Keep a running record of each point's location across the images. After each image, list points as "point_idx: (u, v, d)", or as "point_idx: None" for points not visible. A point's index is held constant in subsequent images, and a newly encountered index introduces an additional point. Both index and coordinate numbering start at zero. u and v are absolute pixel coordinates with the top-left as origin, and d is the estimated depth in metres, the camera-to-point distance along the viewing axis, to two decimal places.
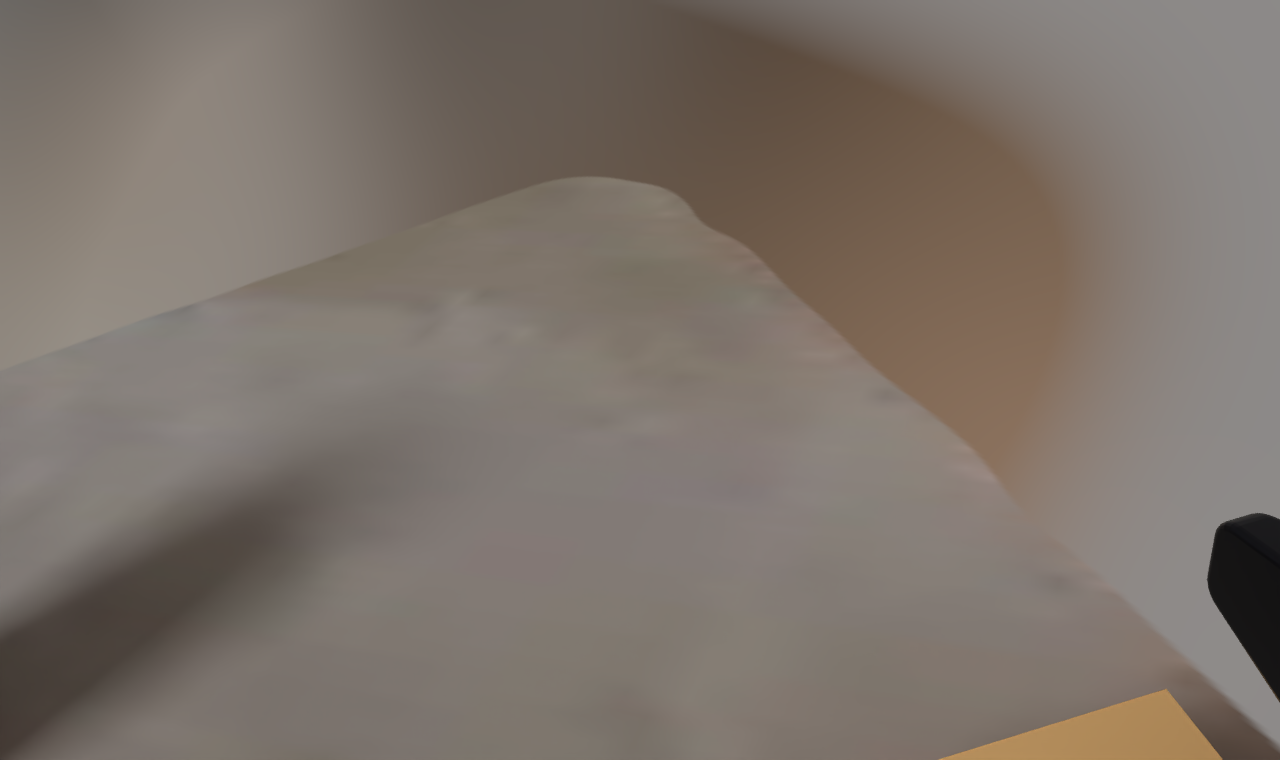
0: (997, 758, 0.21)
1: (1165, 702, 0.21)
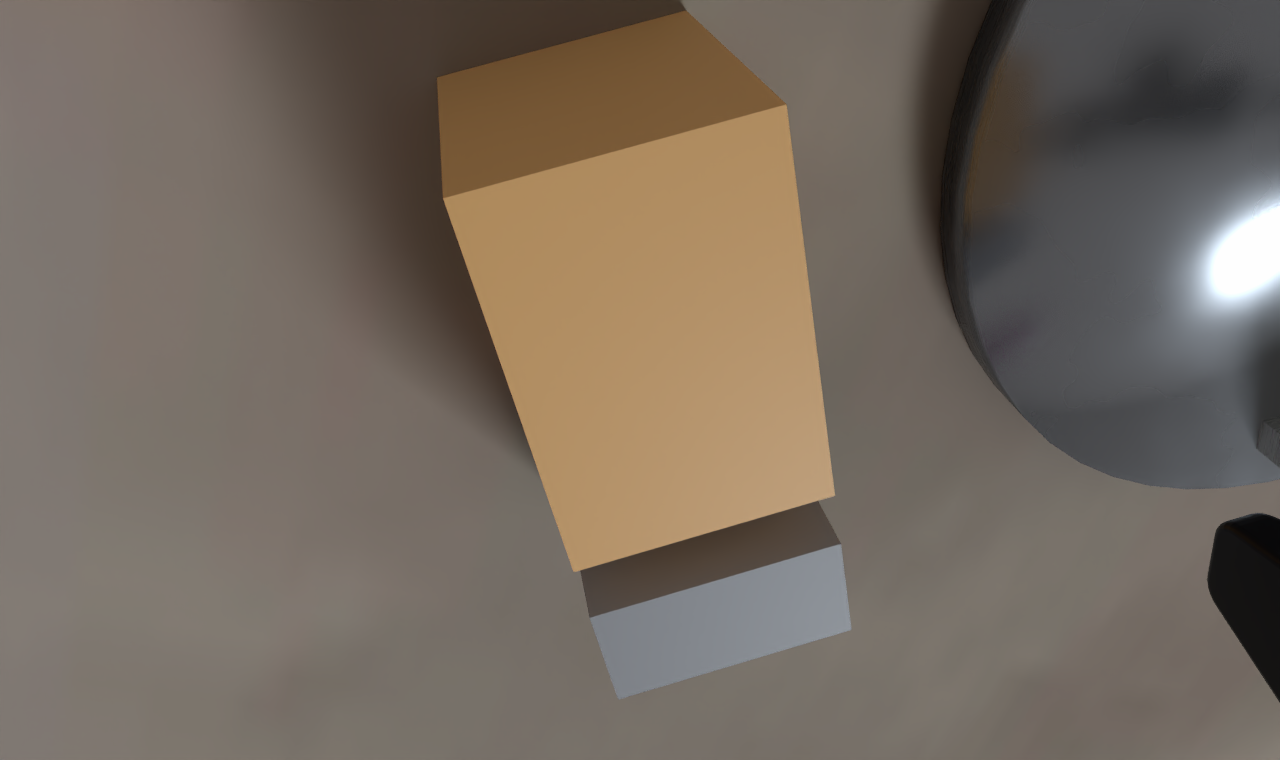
0: (565, 466, 0.13)
1: (475, 210, 0.11)
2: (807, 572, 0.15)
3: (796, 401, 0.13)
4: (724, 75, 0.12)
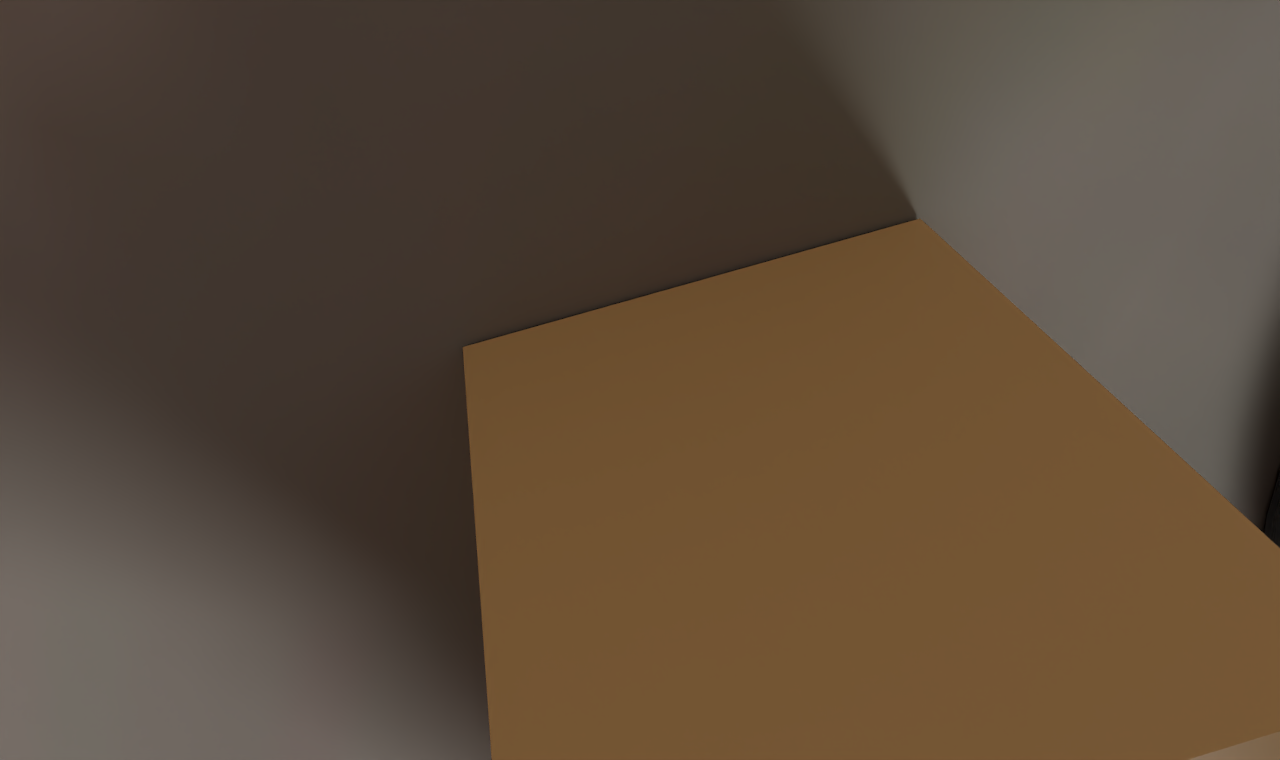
0: None
1: None
2: None
3: None
4: (1138, 486, 0.05)
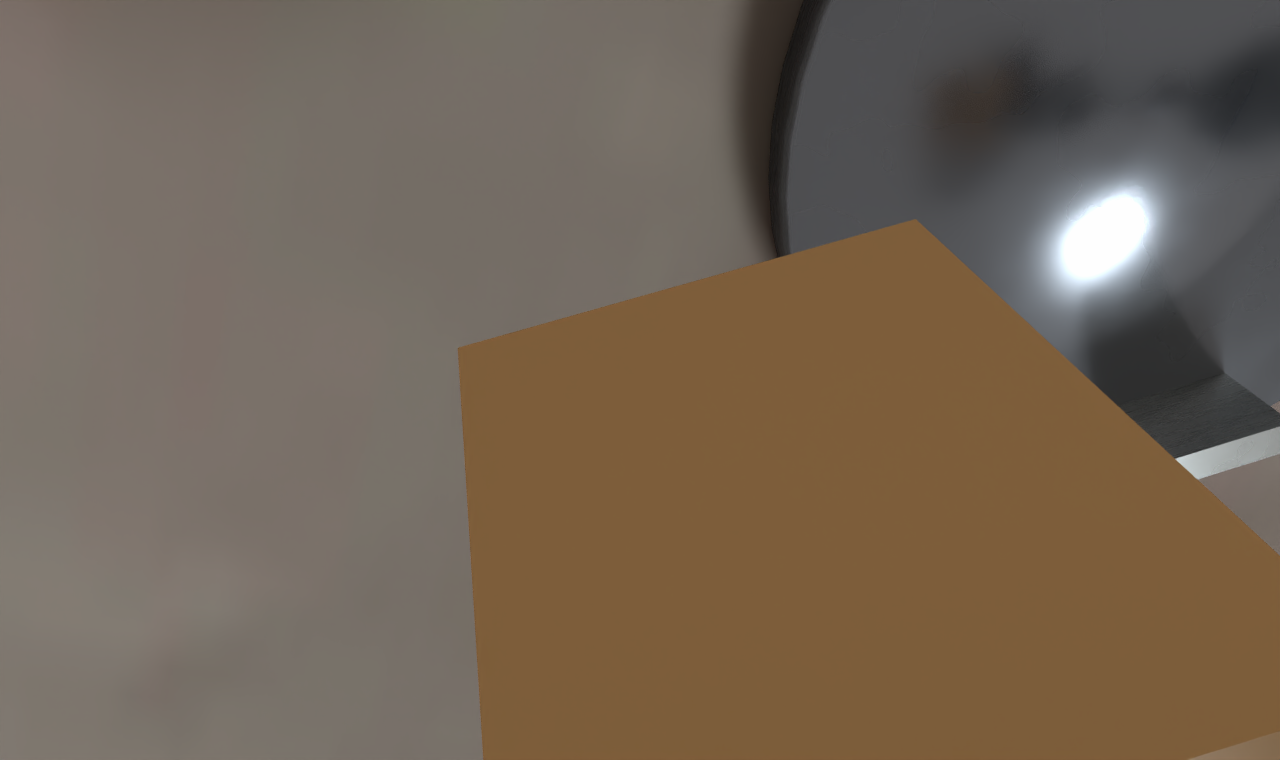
0: None
1: None
2: None
3: None
4: (1128, 486, 0.05)
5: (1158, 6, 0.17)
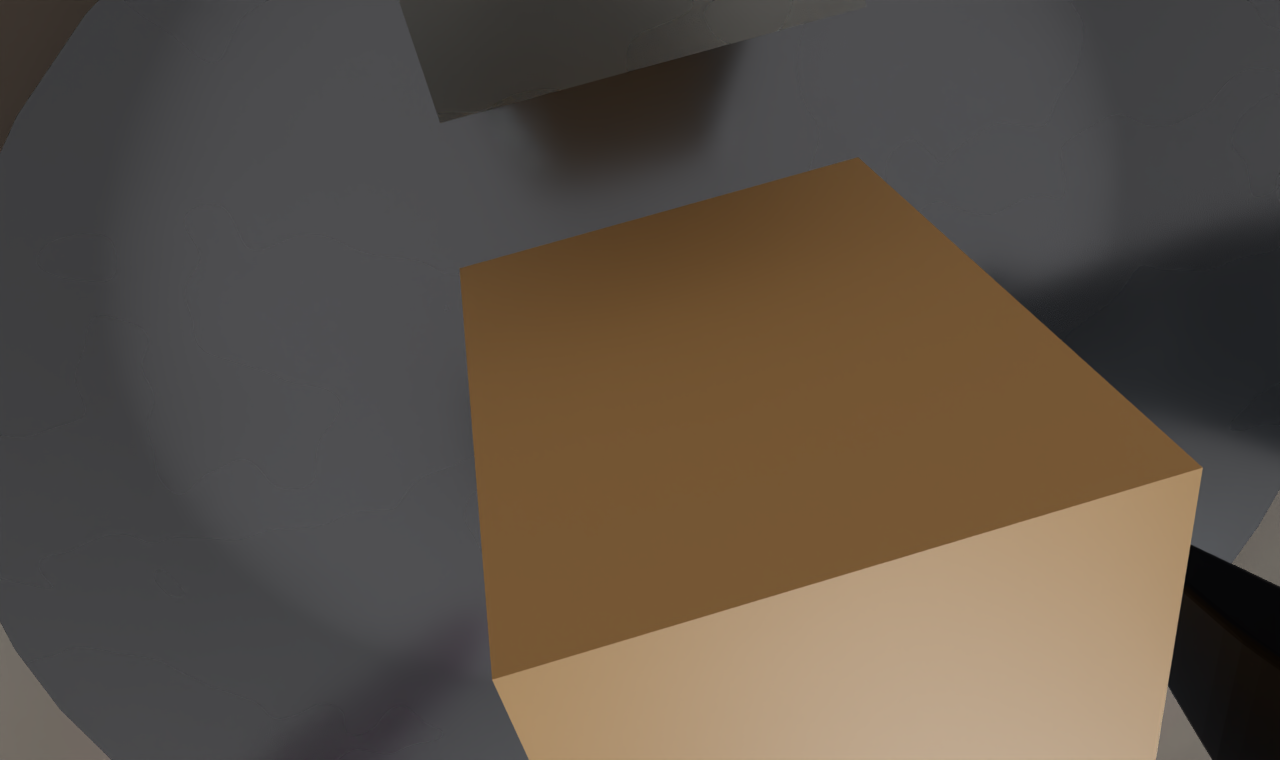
0: None
1: (558, 692, 0.05)
2: None
3: None
4: (1007, 345, 0.07)
5: None
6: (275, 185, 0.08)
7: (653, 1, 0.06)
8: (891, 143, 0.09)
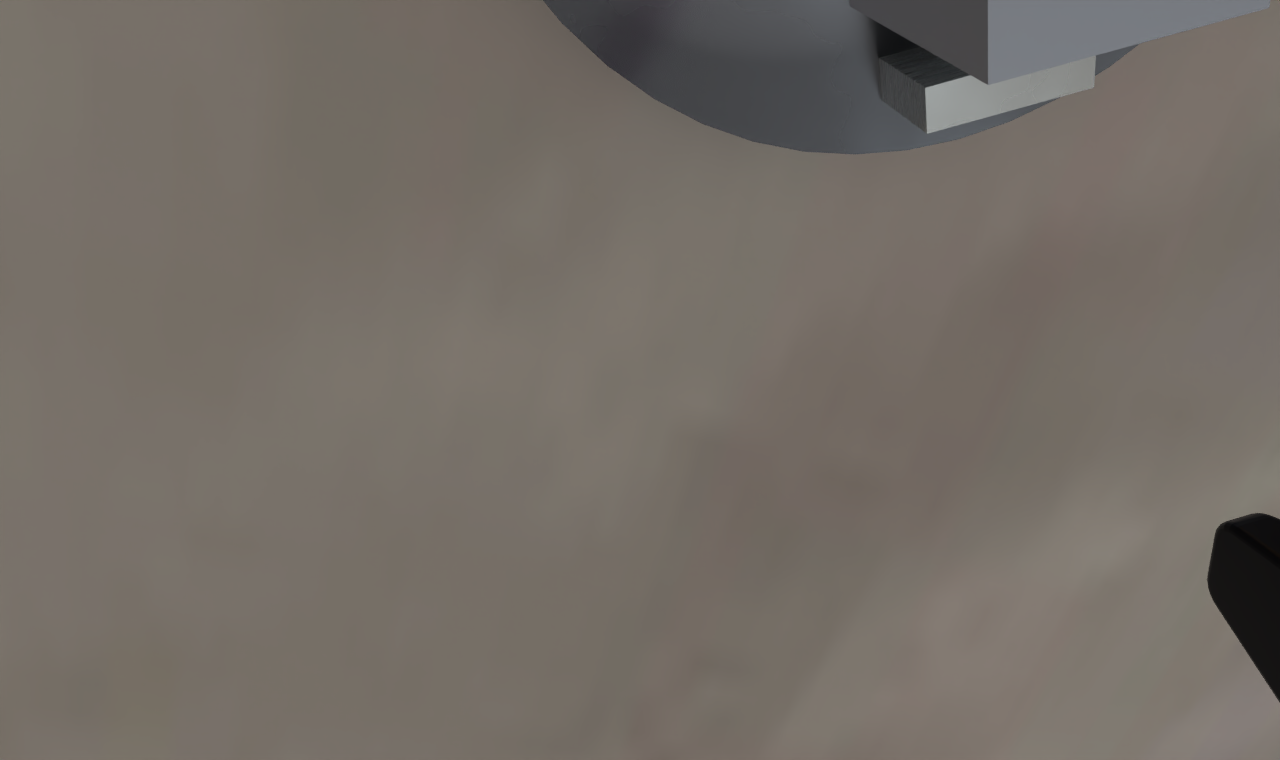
0: None
1: None
2: None
3: None
4: None
5: None
6: None
7: None
8: None
